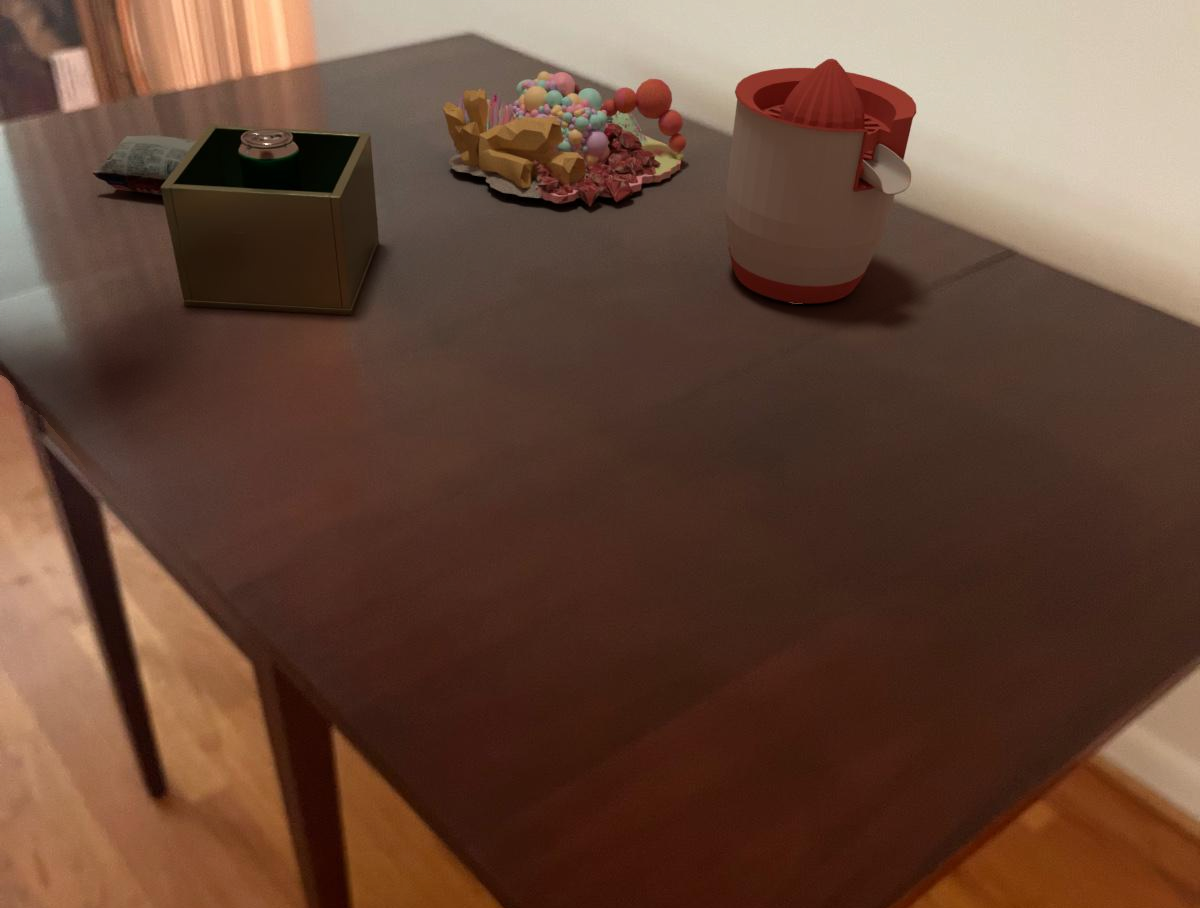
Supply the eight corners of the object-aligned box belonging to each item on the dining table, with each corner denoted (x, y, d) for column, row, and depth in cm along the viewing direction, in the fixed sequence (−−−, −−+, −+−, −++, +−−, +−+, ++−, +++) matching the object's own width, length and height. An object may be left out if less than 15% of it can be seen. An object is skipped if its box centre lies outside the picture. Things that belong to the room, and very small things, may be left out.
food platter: (597, 229, 118) (601, 136, 112) (409, 174, 126) (403, 85, 120) (705, 155, 134) (714, 71, 128) (533, 111, 143) (534, 30, 137)
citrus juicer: (812, 343, 102) (857, 109, 89) (679, 268, 112) (701, 47, 99) (924, 296, 110) (981, 75, 97) (791, 231, 120) (825, 21, 107)
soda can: (252, 260, 108) (231, 128, 100) (307, 254, 109) (291, 123, 101) (261, 284, 104) (240, 150, 96) (318, 278, 106) (302, 144, 98)
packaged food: (138, 165, 124) (127, 117, 121) (242, 179, 123) (235, 131, 120) (95, 197, 118) (83, 148, 115) (205, 212, 116) (196, 163, 113)
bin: (184, 306, 102) (160, 187, 95) (228, 235, 113) (209, 123, 106) (351, 315, 102) (339, 197, 95) (379, 244, 113) (370, 133, 106)
